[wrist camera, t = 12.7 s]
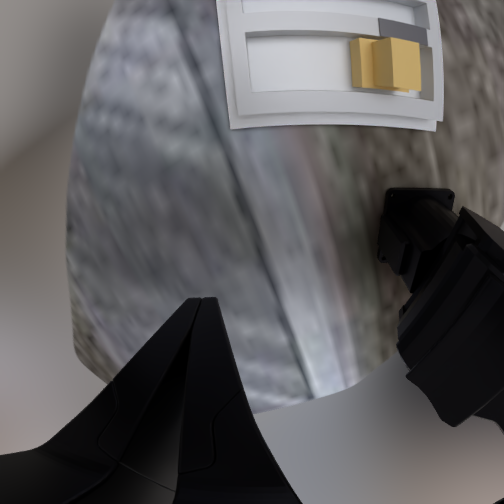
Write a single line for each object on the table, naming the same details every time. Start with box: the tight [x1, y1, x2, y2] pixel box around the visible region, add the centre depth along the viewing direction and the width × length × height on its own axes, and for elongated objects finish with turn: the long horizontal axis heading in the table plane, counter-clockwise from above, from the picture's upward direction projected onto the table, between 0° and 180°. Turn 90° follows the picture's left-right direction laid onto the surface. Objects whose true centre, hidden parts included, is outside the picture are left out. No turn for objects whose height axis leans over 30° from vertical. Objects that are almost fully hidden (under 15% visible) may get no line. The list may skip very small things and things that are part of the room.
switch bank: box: [216, 0, 444, 132], centre depth 11 cm, size 14×16×3 cm
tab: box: [350, 37, 421, 93], centre depth 11 cm, size 3×3×4 cm
